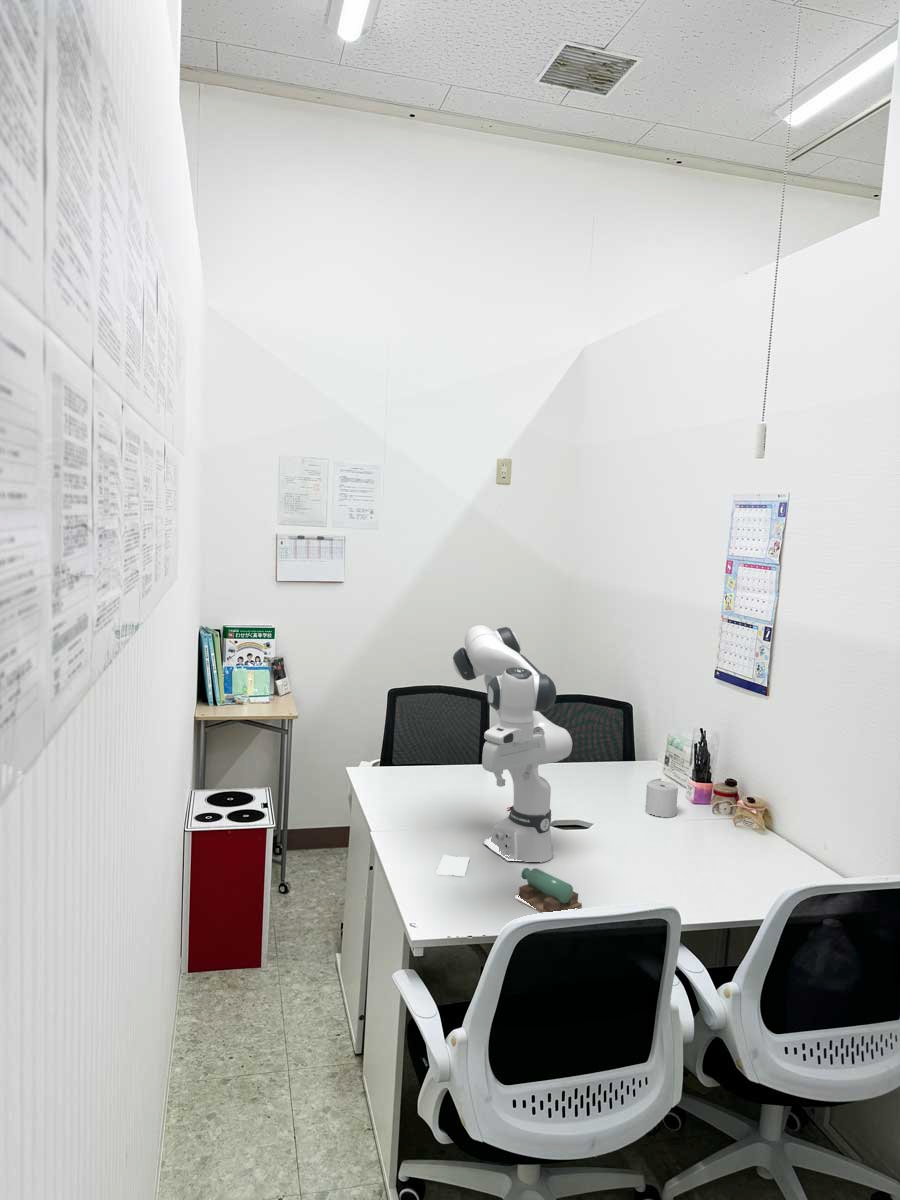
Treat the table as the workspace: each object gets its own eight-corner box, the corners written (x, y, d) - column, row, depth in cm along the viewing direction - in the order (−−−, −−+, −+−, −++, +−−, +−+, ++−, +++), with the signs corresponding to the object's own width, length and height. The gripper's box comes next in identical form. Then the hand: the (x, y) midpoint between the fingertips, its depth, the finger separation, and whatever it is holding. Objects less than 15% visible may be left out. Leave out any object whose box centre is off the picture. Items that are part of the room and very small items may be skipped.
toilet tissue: (658, 819, 289) (659, 791, 288) (636, 808, 300) (638, 780, 299) (682, 816, 294) (684, 788, 293) (660, 804, 305) (662, 778, 304)
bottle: (572, 900, 220) (573, 882, 220) (559, 905, 217) (560, 886, 216) (530, 880, 232) (532, 862, 231) (517, 883, 228) (519, 866, 228)
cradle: (514, 898, 225) (515, 886, 225) (543, 888, 232) (544, 876, 232) (552, 918, 215) (553, 905, 214) (581, 907, 222) (582, 894, 221)
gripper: (535, 723, 227) (533, 772, 228) (479, 733, 214) (477, 786, 215) (552, 728, 222) (550, 778, 223) (496, 739, 209) (493, 793, 210)
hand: (513, 782), depth 219 cm, fingers open, 8 cm apart
